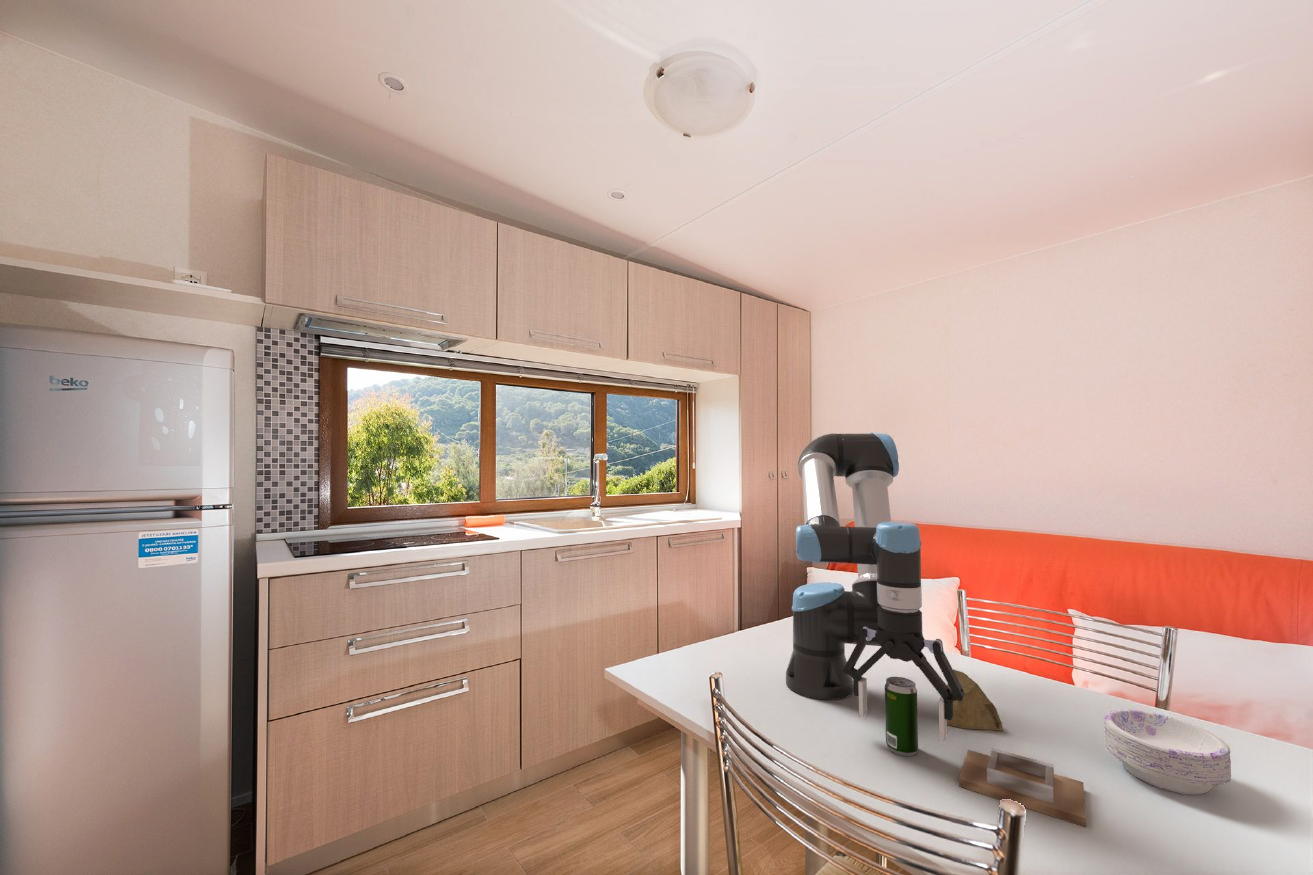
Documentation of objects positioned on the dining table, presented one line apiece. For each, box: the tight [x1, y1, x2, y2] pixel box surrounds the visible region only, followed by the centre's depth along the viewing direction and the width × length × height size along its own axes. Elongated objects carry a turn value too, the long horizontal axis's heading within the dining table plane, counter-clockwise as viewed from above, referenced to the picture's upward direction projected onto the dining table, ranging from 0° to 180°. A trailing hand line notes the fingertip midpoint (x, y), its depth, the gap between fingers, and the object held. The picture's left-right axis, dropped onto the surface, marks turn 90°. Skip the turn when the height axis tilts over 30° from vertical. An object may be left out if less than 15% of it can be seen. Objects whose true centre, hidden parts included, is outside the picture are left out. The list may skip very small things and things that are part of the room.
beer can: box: [884, 676, 919, 757], centre depth 98 cm, size 5×5×12 cm
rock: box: [946, 668, 1004, 731], centre depth 106 cm, size 11×9×10 cm
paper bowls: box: [1103, 709, 1232, 796], centre depth 89 cm, size 15×15×8 cm
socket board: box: [958, 747, 1087, 828], centre depth 86 cm, size 16×11×3 cm
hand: (901, 725), depth 97 cm, fingers open, 13 cm apart
